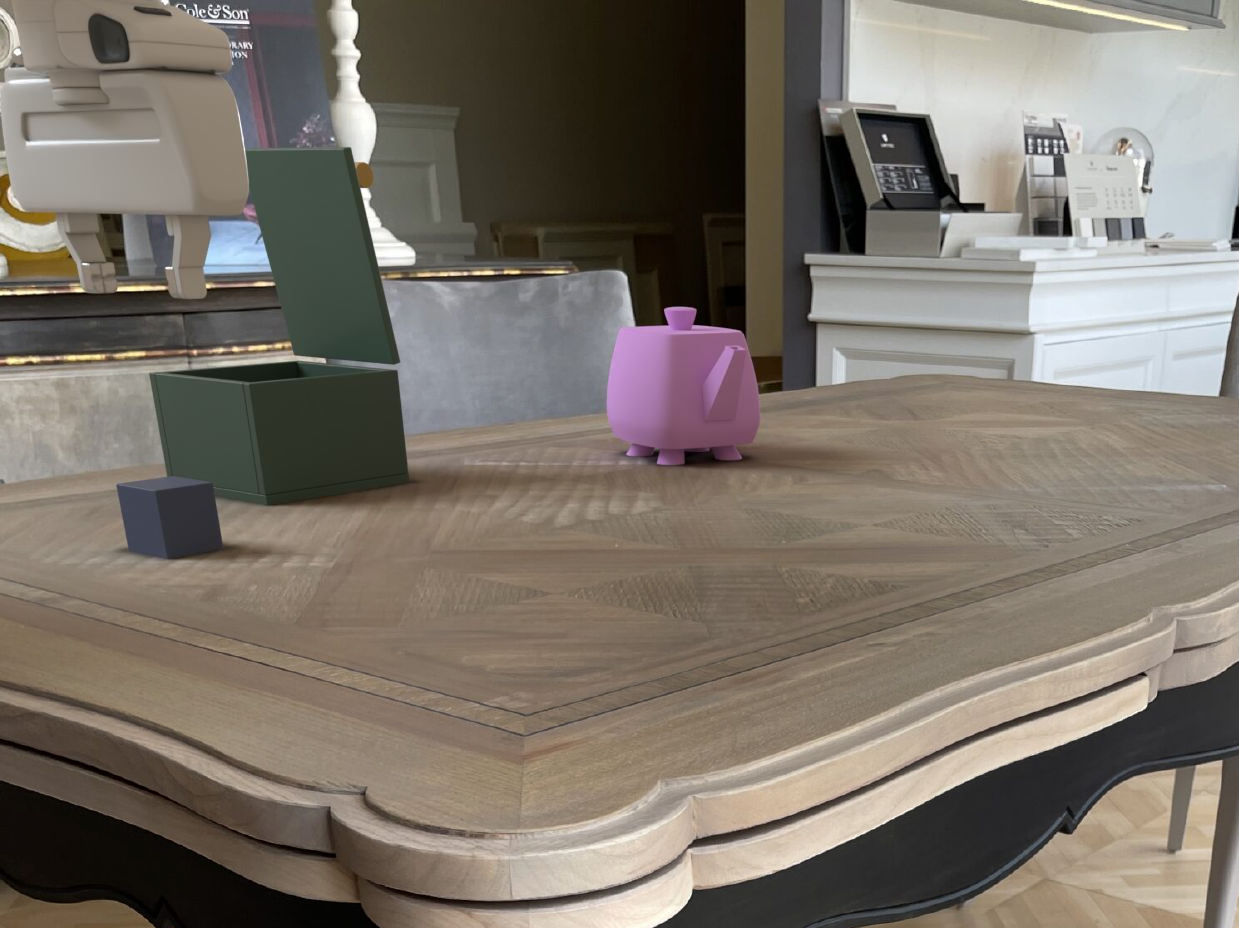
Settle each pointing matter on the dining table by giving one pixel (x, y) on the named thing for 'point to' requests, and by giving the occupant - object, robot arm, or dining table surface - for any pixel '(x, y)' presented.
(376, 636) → the dining table surface
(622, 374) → the teapot
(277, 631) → the dining table surface
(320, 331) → the lid
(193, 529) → the block
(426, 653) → the dining table surface
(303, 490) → the chest
